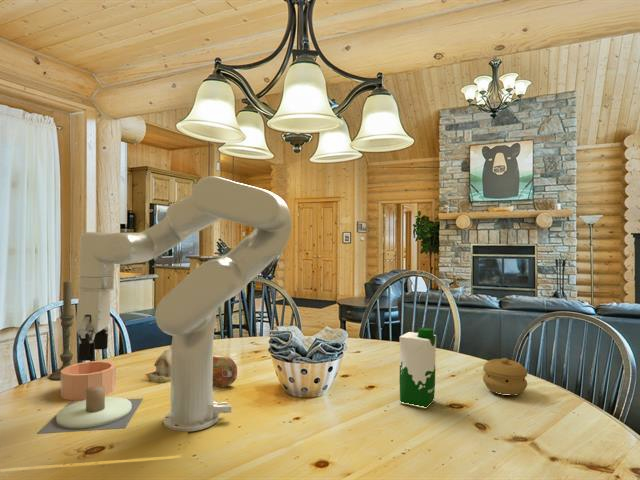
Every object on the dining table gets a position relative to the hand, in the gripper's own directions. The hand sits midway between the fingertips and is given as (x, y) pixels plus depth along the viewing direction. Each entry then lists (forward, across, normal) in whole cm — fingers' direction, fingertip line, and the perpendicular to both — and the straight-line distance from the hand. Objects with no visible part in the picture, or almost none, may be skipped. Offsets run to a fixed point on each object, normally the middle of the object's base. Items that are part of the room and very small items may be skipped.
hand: (93, 354), depth 103 cm
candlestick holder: (+16, -34, -18) cm, 41 cm away
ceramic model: (+15, -28, +14) cm, 35 cm away
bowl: (+15, -17, -6) cm, 23 cm away
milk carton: (+13, +3, +82) cm, 83 cm away
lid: (+14, 0, +1) cm, 14 cm away
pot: (+13, 0, +110) cm, 111 cm away
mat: (+15, 0, +1) cm, 15 cm away
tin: (+15, -20, +28) cm, 37 cm away
